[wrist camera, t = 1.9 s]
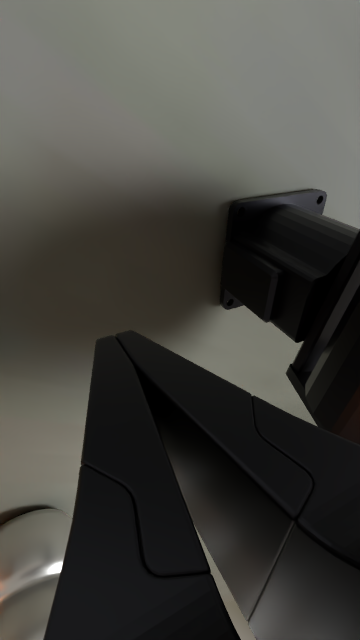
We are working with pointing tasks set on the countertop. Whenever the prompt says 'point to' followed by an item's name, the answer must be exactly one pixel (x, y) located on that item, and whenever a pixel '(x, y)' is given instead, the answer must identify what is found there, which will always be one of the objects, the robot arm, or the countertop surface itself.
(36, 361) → the countertop surface
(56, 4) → the countertop surface
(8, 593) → the plastic bottle
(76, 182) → the countertop surface
